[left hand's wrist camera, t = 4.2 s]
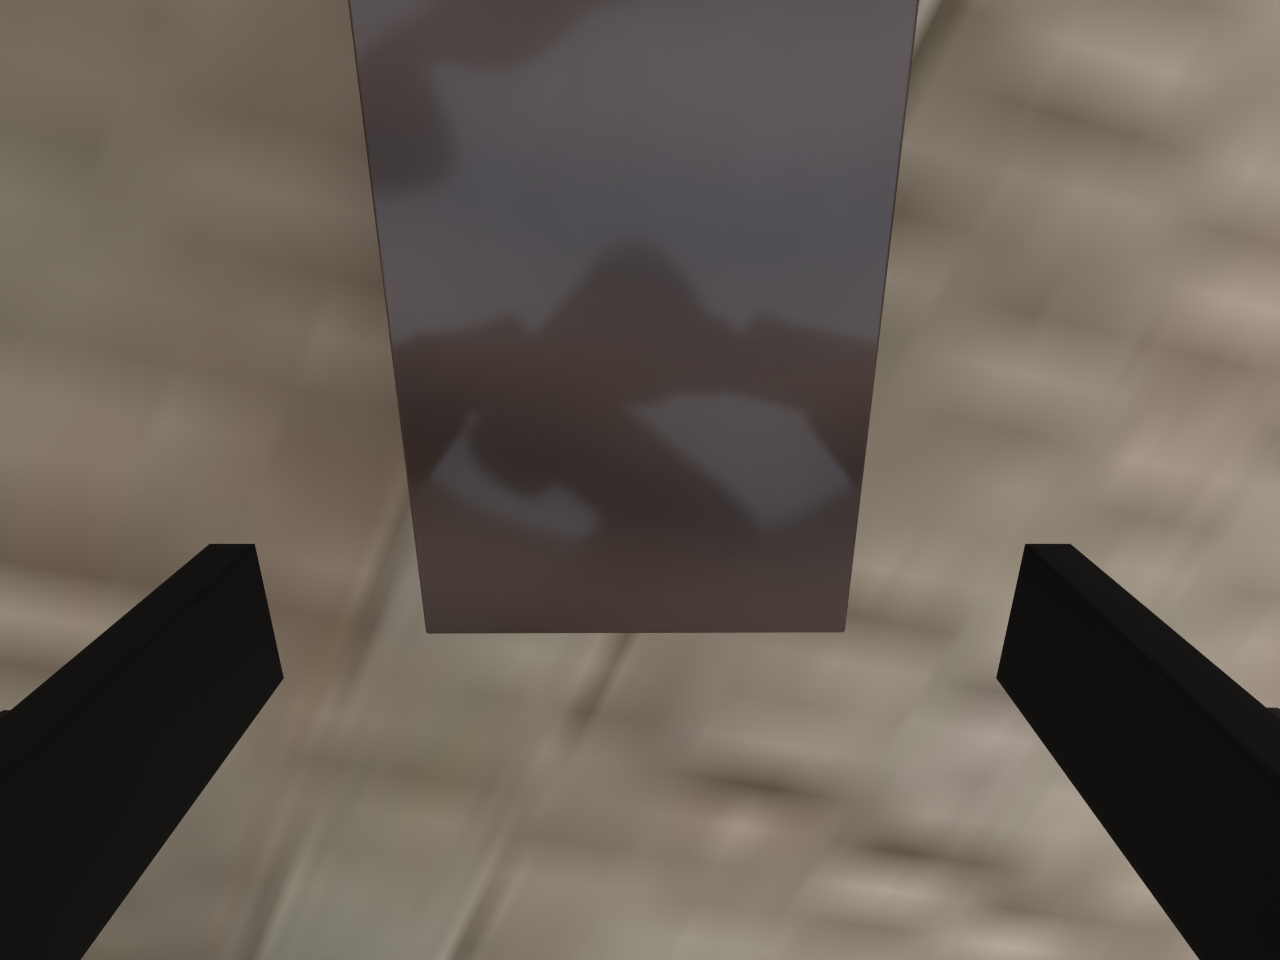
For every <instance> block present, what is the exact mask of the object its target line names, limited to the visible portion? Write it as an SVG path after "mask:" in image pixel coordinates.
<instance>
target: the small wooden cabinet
mask: <svg viewBox="0 0 1280 960" xmlns="http://www.w3.org/2000/svg"><path fill="white" fill-rule="evenodd" d="M348 3H349V11H350V19H351V27H352V35H353V43H354V51H355V60H356V68H357V76H358V84H359V92H360V100H361V108H362V116H363V124H364V132H365V140H366V149H367V157H368V165H369V173H370V181H371V189H372V197H373V205H374V213H375V221H376V229H377V238H378V246H379V254H380V262H381V270H382V278H383V286H384V294H385V302H386V310H387V318H388V326H389V335H390V343H391V351H392V359H393V367H394V375H395V383H396V391H397V399H398V407H399V415H400V424H401V432H402V440H403V448H404V456H405V464H406V472H407V480H408V488H409V496H410V504H411V513H412V521H413V529H414V537H415V545H416V553H417V561H418V569H419V577H420V585H421V593H422V602H423V610H424V618H425V626H426V632H427V633H733V632H844V631H845V623H846V615H847V606H848V598H849V589H850V581H851V572H852V564H853V555H854V547H855V538H856V530H857V521H858V513H859V504H860V496H861V487H862V479H863V470H864V462H865V454H866V445H867V437H868V428H869V420H870V411H871V403H872V394H873V386H874V377H875V369H876V360H877V352H878V343H879V335H880V326H881V318H882V309H883V301H884V292H885V284H886V275H887V267H888V258H889V250H890V242H891V233H892V225H893V216H894V208H895V199H896V191H897V182H898V174H899V165H900V157H901V148H902V140H903V131H904V123H905V114H906V106H907V97H908V89H909V80H910V72H911V63H912V55H913V46H914V38H915V30H916V21H917V13H918V4H919V0H348Z"/></svg>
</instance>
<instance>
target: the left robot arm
mask: <svg viewBox="0 0 1280 960" xmlns="http://www.w3.org/2000/svg"><path fill="white" fill-rule="evenodd" d="M283 678H284V677H283V673H282V668H281V663H280V659H279V654H278V650H277V645H276V640H275V636H274V631H273V626H272V622H271V617H270V613H269V608H268V603H267V599H266V594H265V589H264V585H263V580H262V576H261V571H260V566H259V562H258V557H257V552H256V548H255V544H209V545H208V546H207V547H205V548H204V549H203V550H202V551H201V552H199V553H198V554H197V555H196V556H195V557H193V558H192V559H191V560H190V561H189V562H188V563H186V564H185V565H184V566H183V567H182V568H180V569H179V570H178V571H177V572H176V573H174V574H173V575H172V576H171V577H170V578H168V579H167V580H166V581H165V582H164V583H162V584H161V585H160V586H159V587H158V588H156V589H155V590H154V591H153V592H152V593H150V594H149V595H148V596H147V597H146V598H144V599H143V600H142V601H141V602H140V603H138V604H137V605H136V606H135V607H134V608H132V609H131V610H130V611H129V612H128V613H127V614H125V615H124V616H123V617H122V618H121V619H119V620H118V621H117V622H116V623H115V624H113V625H112V626H111V627H110V628H109V629H107V630H106V631H105V632H104V633H103V634H101V635H100V636H99V637H98V638H97V639H95V640H94V641H93V642H92V643H91V644H89V645H88V646H87V647H86V648H85V649H83V650H82V651H81V652H80V653H79V654H77V655H76V656H75V657H74V658H73V659H71V660H70V661H69V662H68V663H67V664H66V665H64V666H63V667H62V668H61V669H60V670H58V671H57V672H56V673H55V674H54V675H52V676H51V677H50V678H49V679H48V680H46V681H45V682H44V683H43V684H42V685H40V686H39V687H38V688H37V689H36V690H34V691H33V692H32V693H31V694H30V695H28V696H27V697H26V698H25V699H24V700H22V701H21V702H20V703H19V704H18V705H16V706H15V707H14V708H13V709H12V710H3V711H1V712H0V960H81V958H82V957H83V956H84V954H85V953H86V951H87V950H88V949H89V947H90V946H91V944H92V943H93V942H94V940H95V939H96V938H97V936H98V935H99V933H100V932H101V931H102V929H103V928H104V926H105V925H106V924H107V922H108V921H109V920H110V918H111V917H112V915H113V914H114V913H115V911H116V910H117V908H118V907H119V906H120V904H121V903H122V902H123V900H124V899H125V897H126V896H127V895H128V893H129V892H130V890H131V889H132V888H133V886H134V885H135V883H136V882H137V881H138V879H139V878H140V877H141V875H142V874H143V872H144V871H145V870H146V868H147V867H148V865H149V864H150V863H151V861H152V860H153V859H154V857H155V856H156V854H157V853H158V852H159V850H160V849H161V847H162V846H163V845H164V843H165V842H166V841H167V839H168V838H169V836H170V835H171V834H172V832H173V831H174V829H175V828H176V827H177V825H178V824H179V823H180V821H181V820H182V818H183V817H184V816H185V814H186V813H187V811H188V810H189V809H190V807H191V806H192V804H193V803H194V802H195V800H196V799H197V798H198V796H199V795H200V793H201V792H202V791H203V789H204V788H205V786H206V785H207V784H208V782H209V781H210V780H211V778H212V777H213V775H214V774H215V773H216V771H217V770H218V768H219V767H220V766H221V764H222V763H223V762H224V760H225V759H226V757H227V756H228V755H229V753H230V752H231V750H232V749H233V748H234V746H235V745H236V744H237V742H238V741H239V739H240V738H241V737H242V735H243V734H244V732H245V731H246V730H247V728H248V727H249V725H250V724H251V723H252V721H253V720H254V719H255V717H256V716H257V714H258V713H259V712H260V710H261V709H262V707H263V706H264V705H265V703H266V702H267V701H268V699H269V698H270V696H271V695H272V694H273V692H274V691H275V689H276V688H277V687H278V685H279V684H280V683H281V681H282V680H283ZM996 678H997V680H998V681H999V683H1000V684H1001V685H1002V687H1003V688H1004V689H1005V691H1006V692H1007V694H1008V695H1009V696H1010V698H1011V699H1012V701H1013V702H1014V703H1015V705H1016V706H1017V707H1018V709H1019V710H1020V712H1021V713H1022V714H1023V716H1024V717H1025V719H1026V720H1027V721H1028V723H1029V724H1030V725H1031V727H1032V728H1033V730H1034V731H1035V732H1036V734H1037V735H1038V737H1039V738H1040V739H1041V741H1042V742H1043V744H1044V745H1045V746H1046V748H1047V749H1048V750H1049V752H1050V753H1051V755H1052V756H1053V757H1054V759H1055V760H1056V762H1057V763H1058V764H1059V766H1060V767H1061V768H1062V770H1063V771H1064V773H1065V774H1066V775H1067V777H1068V778H1069V780H1070V781H1071V782H1072V784H1073V785H1074V786H1075V788H1076V789H1077V791H1078V792H1079V793H1080V795H1081V796H1082V798H1083V799H1084V800H1085V802H1086V803H1087V804H1088V806H1089V807H1090V809H1091V810H1092V811H1093V813H1094V814H1095V816H1096V817H1097V818H1098V820H1099V821H1100V823H1101V824H1102V825H1103V827H1104V828H1105V829H1106V831H1107V832H1108V834H1109V835H1110V836H1111V838H1112V839H1113V841H1114V842H1115V843H1116V845H1117V846H1118V847H1119V849H1120V850H1121V852H1122V853H1123V854H1124V856H1125V857H1126V859H1127V860H1128V861H1129V863H1130V864H1131V865H1132V867H1133V868H1134V870H1135V871H1136V872H1137V874H1138V875H1139V877H1140V878H1141V879H1142V881H1143V882H1144V883H1145V885H1146V886H1147V888H1148V889H1149V890H1150V892H1151V893H1152V895H1153V896H1154V897H1155V899H1156V900H1157V902H1158V903H1159V904H1160V906H1161V907H1162V908H1163V910H1164V911H1165V913H1166V914H1167V915H1168V917H1169V918H1170V920H1171V921H1172V922H1173V924H1174V925H1175V926H1176V928H1177V929H1178V931H1179V932H1180V933H1181V935H1182V936H1183V938H1184V939H1185V940H1186V942H1187V943H1188V944H1189V946H1190V947H1191V949H1192V950H1193V951H1194V953H1195V954H1196V956H1197V957H1198V958H1199V960H1280V709H1279V708H1266V707H1265V706H1264V705H1262V704H1261V703H1260V702H1259V701H1258V700H1256V699H1255V698H1254V697H1253V696H1252V695H1250V694H1249V693H1248V692H1247V691H1246V690H1244V689H1243V688H1242V687H1241V686H1240V685H1238V684H1237V683H1236V682H1235V681H1234V680H1232V679H1231V678H1230V677H1229V676H1228V675H1226V674H1225V673H1224V672H1223V671H1222V670H1220V669H1219V668H1218V667H1217V666H1216V665H1214V664H1213V663H1212V662H1211V661H1210V660H1209V659H1207V658H1206V657H1205V656H1204V655H1203V654H1201V653H1200V652H1199V651H1198V650H1197V649H1195V648H1194V647H1193V646H1192V645H1191V644H1189V643H1188V642H1187V641H1186V640H1185V639H1183V638H1182V637H1181V636H1180V635H1179V634H1177V633H1176V632H1175V631H1174V630H1173V629H1171V628H1170V627H1169V626H1168V625H1167V624H1165V623H1164V622H1163V621H1162V620H1161V619H1159V618H1158V617H1157V616H1156V615H1155V614H1153V613H1152V612H1151V611H1150V610H1149V609H1148V608H1146V607H1145V606H1144V605H1143V604H1142V603H1140V602H1139V601H1138V600H1137V599H1136V598H1134V597H1133V596H1132V595H1131V594H1130V593H1128V592H1127V591H1126V590H1125V589H1124V588H1122V587H1121V586H1120V585H1119V584H1118V583H1116V582H1115V581H1114V580H1113V579H1112V578H1110V577H1109V576H1108V575H1107V574H1106V573H1104V572H1103V571H1102V570H1101V569H1100V568H1098V567H1097V566H1096V565H1095V564H1094V563H1092V562H1091V561H1090V560H1089V559H1088V558H1087V557H1085V556H1084V555H1083V554H1082V553H1081V552H1079V551H1078V550H1077V549H1076V548H1075V547H1073V546H1072V545H1071V544H1025V548H1024V552H1023V557H1022V562H1021V566H1020V571H1019V576H1018V580H1017V585H1016V589H1015V594H1014V599H1013V603H1012V608H1011V613H1010V617H1009V622H1008V626H1007V631H1006V636H1005V640H1004V645H1003V650H1002V654H1001V659H1000V663H999V668H998V673H997V677H996Z"/></svg>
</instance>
